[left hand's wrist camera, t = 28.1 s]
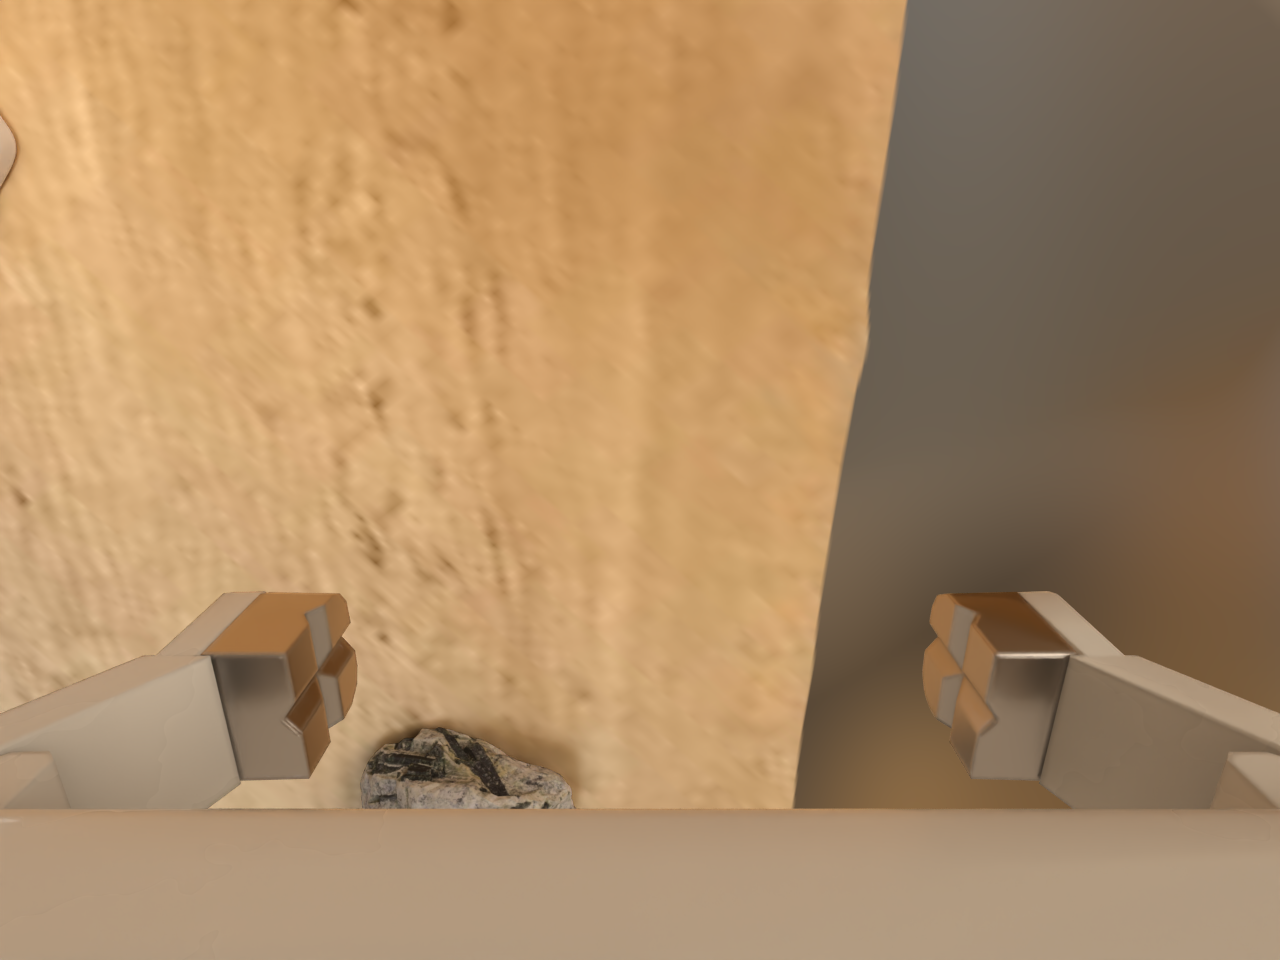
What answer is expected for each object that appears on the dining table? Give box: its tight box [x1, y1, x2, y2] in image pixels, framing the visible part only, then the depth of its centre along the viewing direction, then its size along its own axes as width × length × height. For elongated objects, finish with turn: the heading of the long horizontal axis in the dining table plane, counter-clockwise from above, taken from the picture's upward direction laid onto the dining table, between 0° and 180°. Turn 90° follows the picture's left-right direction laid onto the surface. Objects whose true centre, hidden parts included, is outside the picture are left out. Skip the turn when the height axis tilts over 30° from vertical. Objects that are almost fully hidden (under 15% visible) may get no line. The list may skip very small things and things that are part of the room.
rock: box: [360, 728, 576, 809], centre depth 49 cm, size 15×10×7 cm
